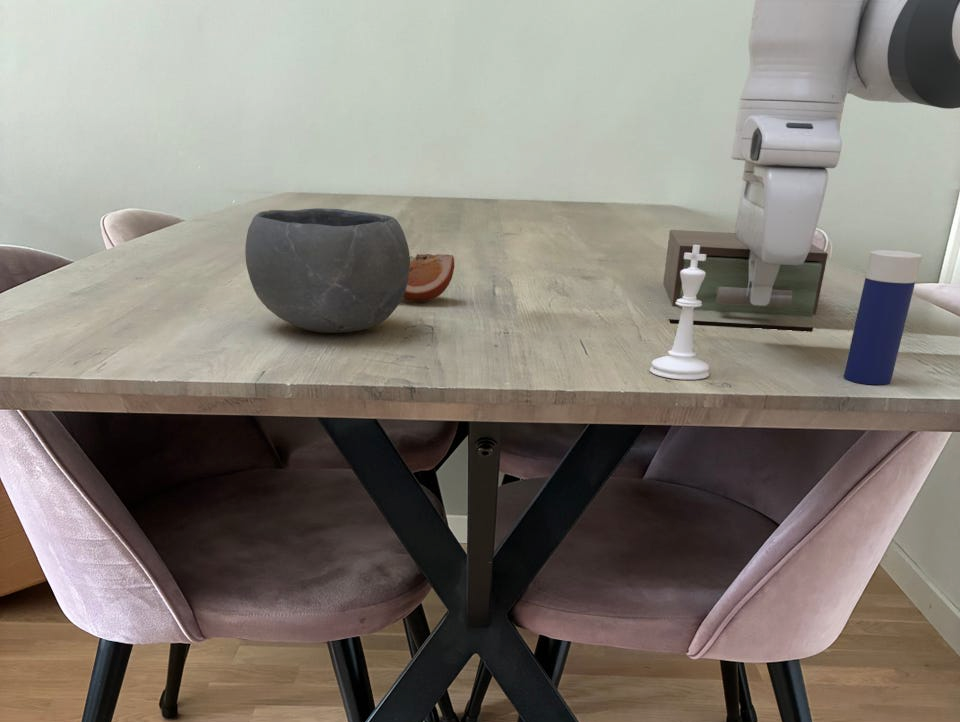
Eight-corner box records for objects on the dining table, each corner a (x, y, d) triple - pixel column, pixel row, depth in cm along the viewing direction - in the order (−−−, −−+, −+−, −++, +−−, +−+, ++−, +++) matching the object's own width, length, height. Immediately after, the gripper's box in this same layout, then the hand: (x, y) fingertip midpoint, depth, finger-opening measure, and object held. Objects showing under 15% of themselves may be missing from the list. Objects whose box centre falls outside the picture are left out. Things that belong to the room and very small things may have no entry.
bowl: (440, 327, 93) (442, 216, 88) (346, 354, 82) (342, 227, 77) (320, 309, 99) (316, 204, 94) (218, 331, 88) (207, 212, 83)
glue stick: (884, 375, 82) (914, 251, 77) (896, 386, 79) (928, 257, 74) (838, 372, 83) (865, 248, 78) (848, 383, 79) (877, 255, 74)
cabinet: (812, 332, 98) (828, 253, 95) (670, 323, 99) (680, 245, 96) (786, 305, 112) (799, 236, 108) (661, 298, 113) (669, 229, 109)
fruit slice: (372, 303, 103) (371, 254, 101) (384, 293, 109) (384, 246, 107) (448, 308, 102) (449, 258, 100) (457, 297, 108) (458, 250, 106)
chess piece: (662, 363, 83) (678, 239, 78) (716, 371, 81) (736, 245, 76) (640, 373, 79) (655, 244, 75) (697, 383, 77) (716, 251, 72)
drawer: (819, 333, 93) (832, 270, 90) (681, 325, 94) (689, 262, 91) (785, 301, 110) (795, 246, 107) (668, 294, 111) (675, 240, 108)
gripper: (733, 136, 94) (712, 284, 100) (766, 141, 76) (737, 320, 83) (799, 139, 93) (772, 288, 100) (847, 144, 75) (811, 325, 82)
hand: (757, 303), depth 91 cm, fingers closed
